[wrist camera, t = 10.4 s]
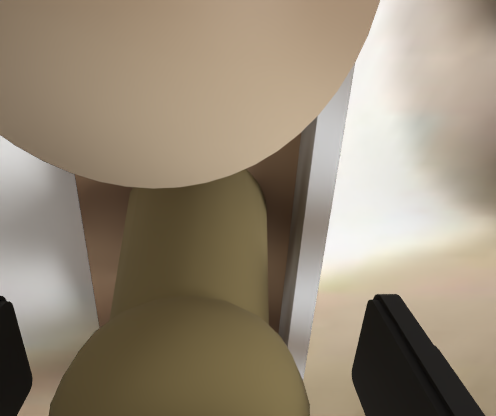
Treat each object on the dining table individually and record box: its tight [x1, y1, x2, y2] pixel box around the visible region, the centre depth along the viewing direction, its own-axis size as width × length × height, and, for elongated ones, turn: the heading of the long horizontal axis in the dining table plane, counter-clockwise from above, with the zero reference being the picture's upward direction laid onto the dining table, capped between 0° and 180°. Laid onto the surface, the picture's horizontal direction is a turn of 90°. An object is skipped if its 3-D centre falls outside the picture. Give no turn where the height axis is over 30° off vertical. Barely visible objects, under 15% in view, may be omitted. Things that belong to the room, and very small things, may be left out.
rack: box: [0, 0, 380, 379], centre depth 13 cm, size 22×10×10 cm, turn 177°
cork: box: [49, 169, 310, 416], centre depth 11 cm, size 6×6×11 cm
